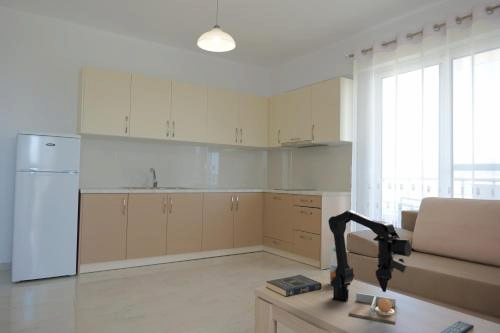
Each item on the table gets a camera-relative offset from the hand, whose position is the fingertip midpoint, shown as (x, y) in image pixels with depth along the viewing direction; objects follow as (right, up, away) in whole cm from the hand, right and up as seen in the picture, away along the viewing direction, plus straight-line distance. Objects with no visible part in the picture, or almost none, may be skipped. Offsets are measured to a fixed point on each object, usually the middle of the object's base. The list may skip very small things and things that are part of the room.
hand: (385, 288), depth 146 cm
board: (-4, -11, +2) cm, 12 cm away
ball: (-1, -7, -1) cm, 7 cm away
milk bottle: (-10, -12, +40) cm, 43 cm away
